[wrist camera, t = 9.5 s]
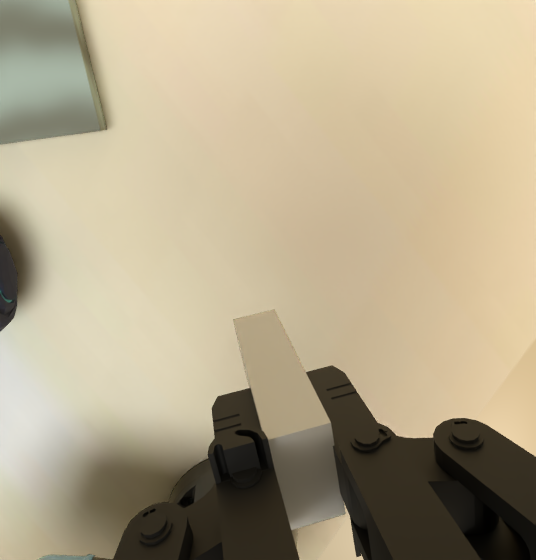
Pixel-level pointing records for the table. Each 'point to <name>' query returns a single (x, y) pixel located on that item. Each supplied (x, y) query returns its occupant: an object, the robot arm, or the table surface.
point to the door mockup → (45, 72)
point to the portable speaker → (7, 286)
